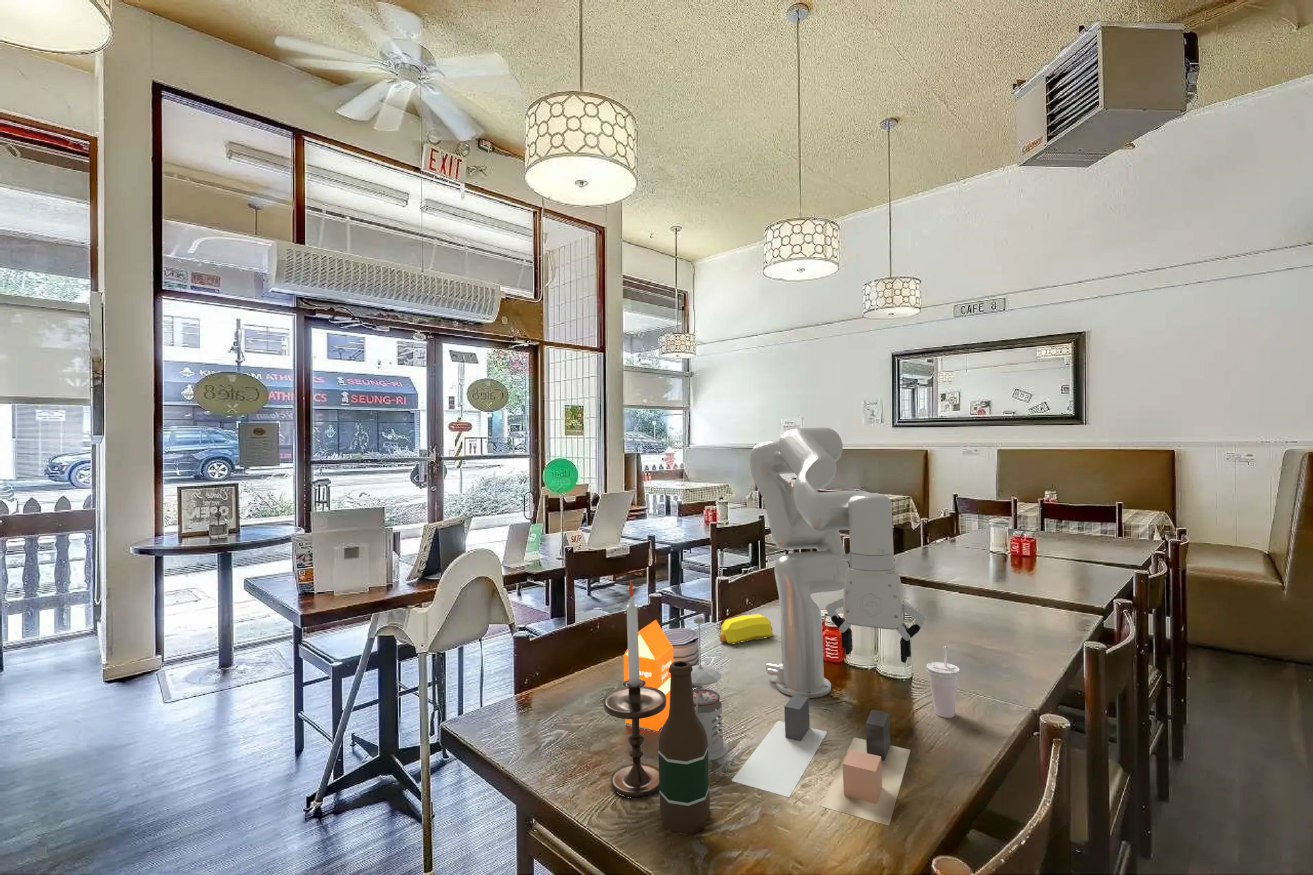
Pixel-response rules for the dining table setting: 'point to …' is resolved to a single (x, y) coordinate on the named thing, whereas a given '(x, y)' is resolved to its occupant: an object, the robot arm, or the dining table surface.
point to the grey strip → (783, 751)
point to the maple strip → (891, 773)
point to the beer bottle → (683, 758)
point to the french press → (708, 705)
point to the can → (684, 645)
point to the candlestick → (635, 717)
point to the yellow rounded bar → (745, 628)
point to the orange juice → (653, 669)
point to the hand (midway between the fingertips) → (876, 656)
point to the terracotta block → (862, 776)
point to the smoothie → (943, 686)
